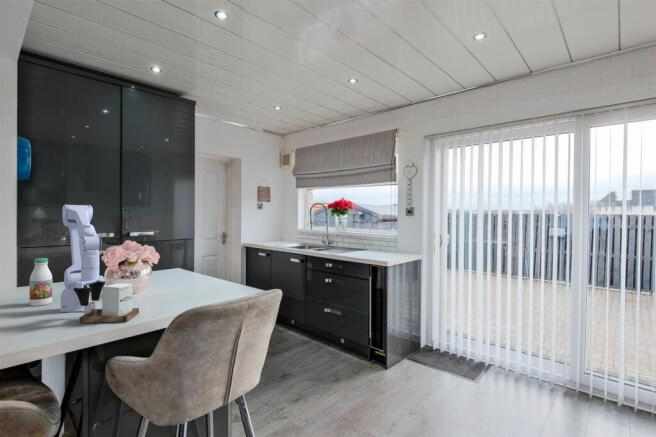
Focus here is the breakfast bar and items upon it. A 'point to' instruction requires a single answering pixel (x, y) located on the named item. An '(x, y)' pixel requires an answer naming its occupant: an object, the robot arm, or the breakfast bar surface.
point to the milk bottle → (40, 284)
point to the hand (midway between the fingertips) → (90, 303)
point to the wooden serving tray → (92, 312)
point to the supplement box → (117, 299)
